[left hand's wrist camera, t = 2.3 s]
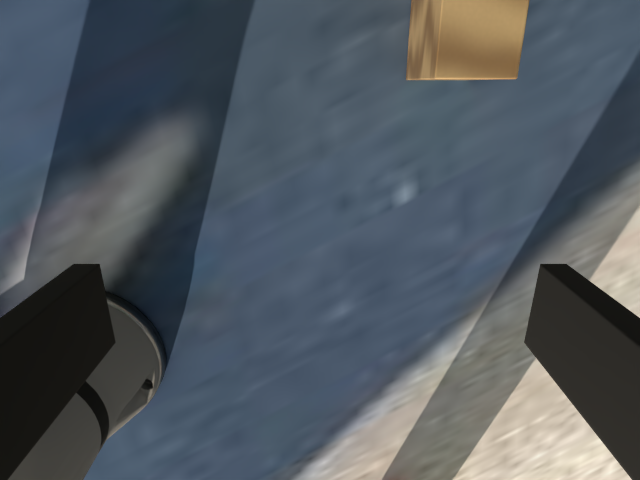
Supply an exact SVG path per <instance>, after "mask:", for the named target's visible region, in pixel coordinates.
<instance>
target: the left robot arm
mask: <svg viewBox="0 0 640 480" xmlns="http://www.w3.org/2000/svg"><path fill="white" fill-rule="evenodd" d="M524 343H525V344H526V345H527V347H528V348H529V349H530V350H531V352H532V353H533V354H534V355H535V357H536V358H537V359H538V361H539V362H540V363H541V364H542V366H543V367H544V368H545V369H546V371H547V372H548V373H549V375H550V376H551V377H552V378H553V380H554V381H555V382H556V383H557V385H558V386H559V387H560V389H561V390H562V391H563V392H564V394H565V395H566V396H567V397H568V399H569V400H570V401H571V403H572V404H573V405H574V406H575V408H576V409H577V410H578V411H579V413H580V414H581V415H582V417H583V418H584V419H585V420H586V422H587V423H588V424H589V425H590V427H591V428H592V429H593V431H594V432H595V433H596V434H597V436H598V437H599V438H600V439H601V441H602V442H603V443H604V445H605V446H606V447H607V448H608V450H609V451H610V452H611V453H612V455H613V456H614V457H615V459H616V460H617V461H618V462H619V464H620V465H621V466H622V467H623V469H624V470H625V471H626V472H627V474H628V475H629V476H630V478H631V479H632V480H640V318H639V317H638V316H636V315H635V314H633V313H632V312H631V311H629V310H628V309H627V308H625V307H624V306H623V305H621V304H620V303H618V302H617V301H616V300H614V299H613V298H612V297H610V296H609V295H608V294H606V293H605V292H604V291H602V290H601V289H599V288H598V287H597V286H595V285H594V284H593V283H591V282H590V281H589V280H587V279H586V278H585V277H583V276H582V275H580V274H579V273H578V272H576V271H575V270H574V269H572V268H571V267H570V266H568V265H567V264H540V269H539V274H538V279H537V283H536V288H535V293H534V298H533V303H532V308H531V312H530V317H529V322H528V327H527V332H526V337H525V341H524ZM165 368H166V354H165V349H164V345H163V342H162V340H161V338H160V335H159V334H158V332H157V330H156V328H155V327H154V326H153V324H152V323H151V322H150V321H149V319H148V318H147V317H146V316H145V315H144V314H143V313H142V312H141V311H139V310H138V309H137V308H136V307H134V306H133V305H132V304H130V303H129V302H127V301H125V300H123V299H122V298H120V297H118V296H115V295H113V294H111V293H108V292H105V288H104V283H103V279H102V274H101V269H100V264H73V265H72V266H70V267H69V268H68V269H66V270H65V271H64V272H62V273H61V274H60V275H58V276H57V277H55V278H54V279H53V280H51V281H50V282H49V283H47V284H46V285H45V286H43V287H42V288H41V289H39V290H38V291H36V292H35V293H34V294H32V295H31V296H30V297H28V298H27V299H26V300H24V301H23V302H22V303H20V304H19V305H17V306H16V307H15V308H13V309H12V310H11V311H9V312H8V313H7V314H5V315H4V316H2V317H1V318H0V480H83V479H84V477H85V475H86V474H87V472H88V470H89V468H90V467H91V465H92V463H93V462H94V460H95V458H96V456H97V454H98V453H99V451H100V449H101V448H102V446H103V444H104V443H105V441H106V440H107V439H108V438H109V437H110V436H112V435H113V434H114V433H115V432H116V431H117V430H119V429H120V428H121V427H122V426H123V425H125V424H126V423H127V422H128V421H129V420H130V419H132V418H133V417H134V416H135V415H136V414H137V413H139V412H140V411H141V410H142V409H143V408H144V407H145V406H146V405H147V404H148V403H149V402H150V401H151V399H152V398H153V396H154V395H155V393H156V391H157V389H158V387H159V385H160V383H161V381H162V379H163V377H164V373H165Z"/></svg>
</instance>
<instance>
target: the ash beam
mask: <svg viewBox="0 0 640 480" xmlns="http://www.w3.org/2000/svg"><path fill="white" fill-rule="evenodd" d="M528 6H529V0H412V1H411V16H410V30H409V45H408V59H407V74H406V80H490V79H517V76H518V70H519V63H520V57H521V51H522V44H523V38H524V31H525V25H526V19H527V12H528Z"/></svg>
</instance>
